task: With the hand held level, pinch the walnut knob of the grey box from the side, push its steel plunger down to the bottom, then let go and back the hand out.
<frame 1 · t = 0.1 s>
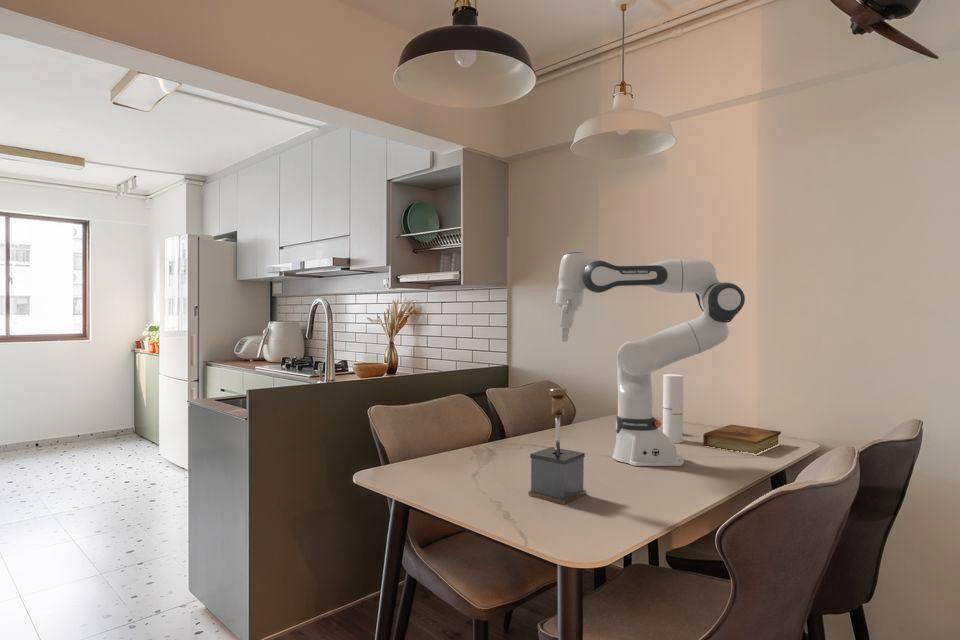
hand: (564, 340, 192), 39 cm above the table, tool pointing down, fingers open, 8 cm apart
plunger: (557, 424, 151), point 19 cm above the table, slide at 0.0 cm
diary: (742, 447, 208), on the table
grey box: (557, 494, 151), on the table
cylindrical container: (672, 441, 215), on the table
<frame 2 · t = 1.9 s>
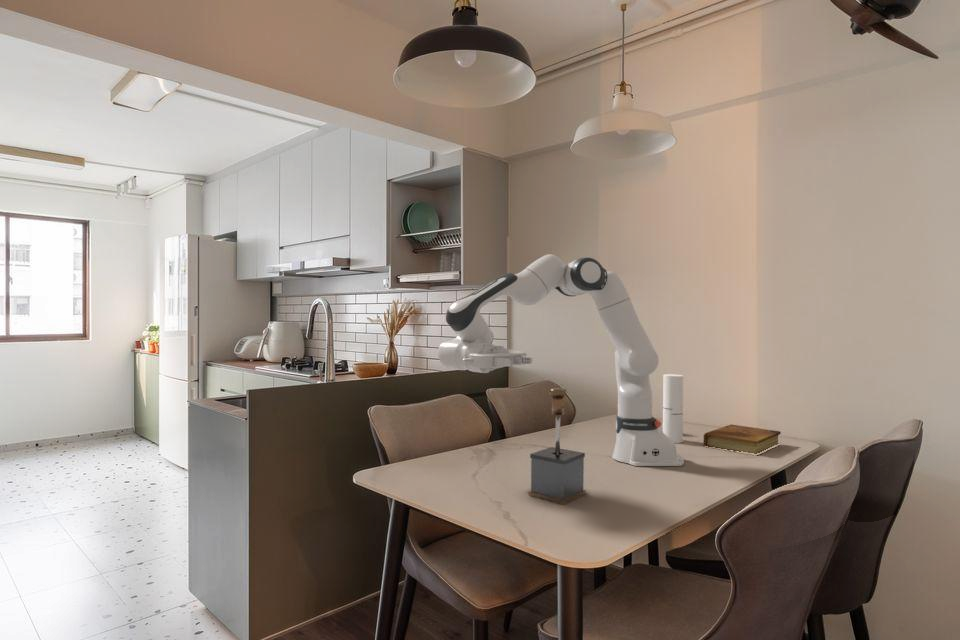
hand: (521, 361, 159), 35 cm above the table, tool horizontal, fingers open, 8 cm apart
nothing on the table moved.
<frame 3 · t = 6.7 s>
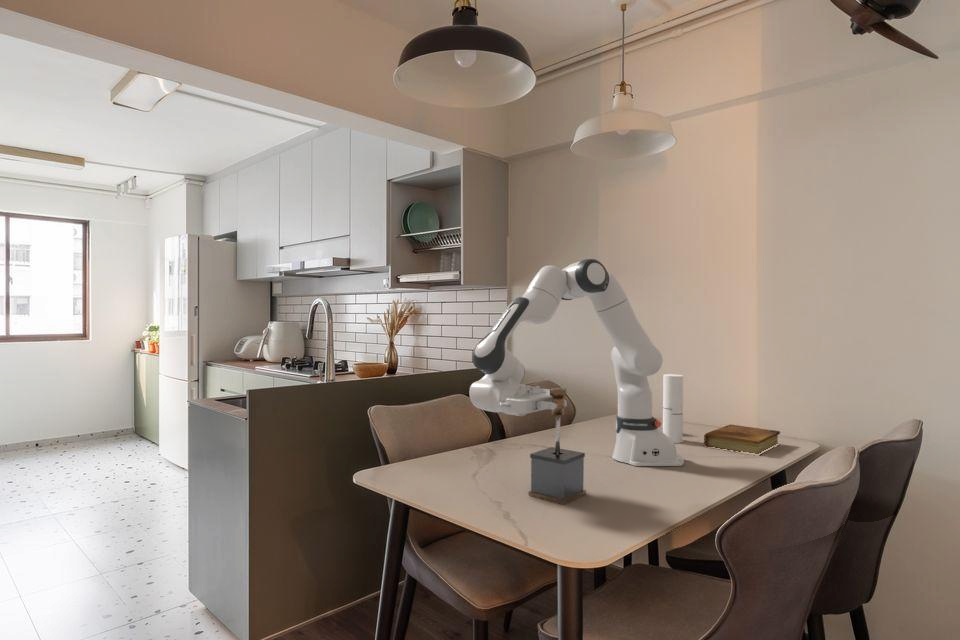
hand: (560, 405, 150), 24 cm above the table, tool horizontal, fingers closed on plunger, 3 cm apart
plunger: (557, 425, 151), point 19 cm above the table, slide at 0.0 cm, touching gripper
everything else where it was.
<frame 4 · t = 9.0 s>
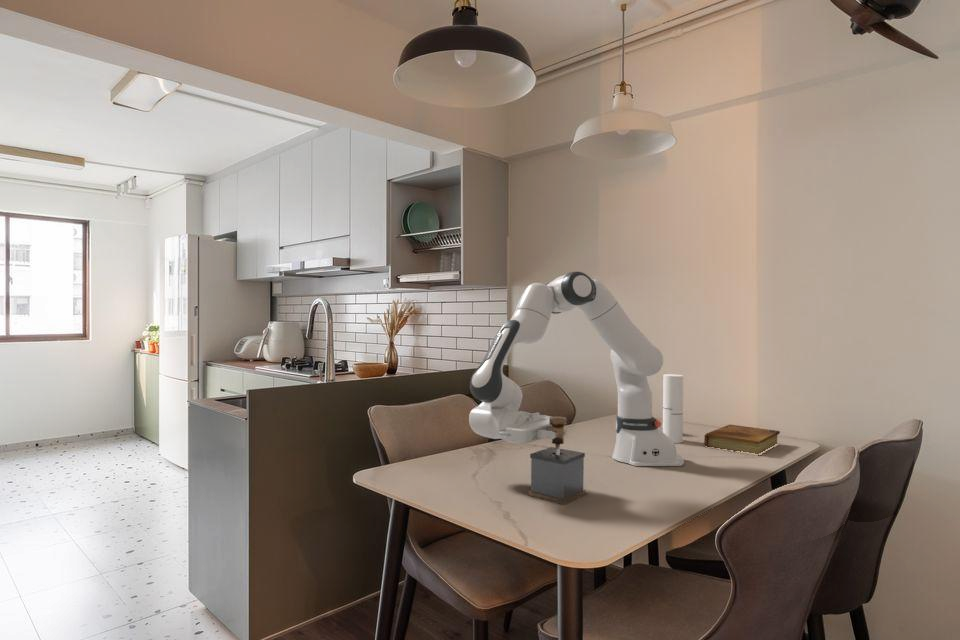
hand: (560, 433, 150), 16 cm above the table, tool horizontal, fingers closed on plunger, 3 cm apart
plunger: (557, 453, 151), point 11 cm above the table, slide at 7.6 cm, touching gripper
everything else where it was.
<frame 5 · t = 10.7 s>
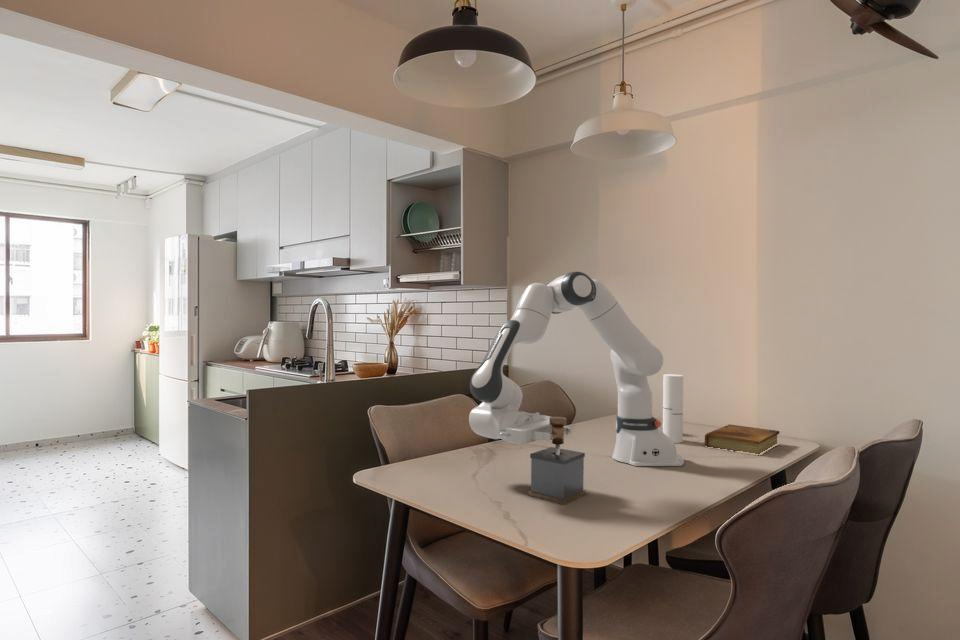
hand: (560, 434, 150), 16 cm above the table, tool horizontal, fingers open, 8 cm apart
plunger: (557, 453, 151), point 11 cm above the table, slide at 7.7 cm
everything else where it was.
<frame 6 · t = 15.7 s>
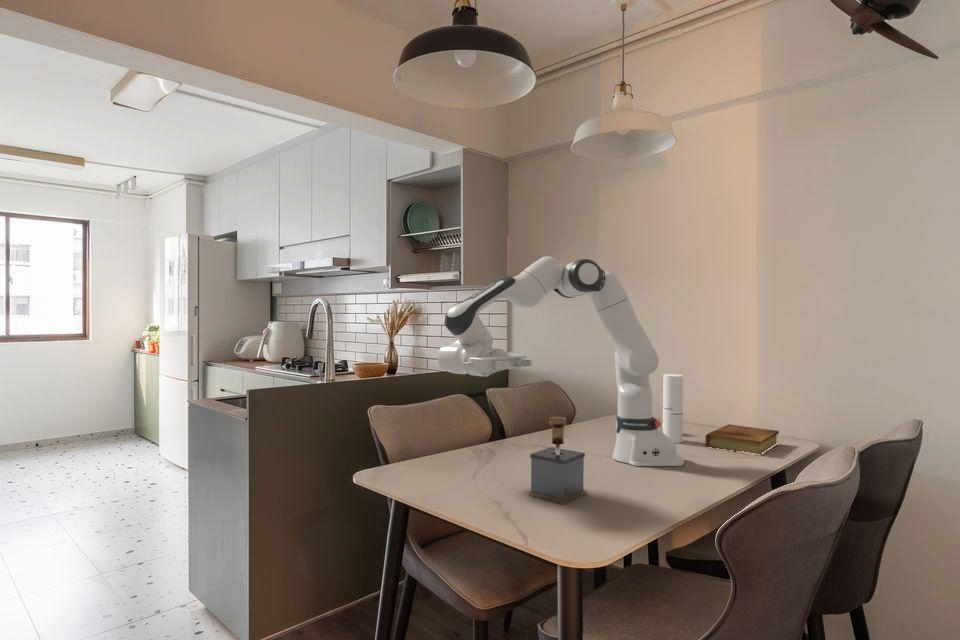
hand: (520, 364, 158), 34 cm above the table, tool horizontal, fingers open, 8 cm apart
nothing on the table moved.
at the end: plunger slide at 7.7 cm; the gripper is holding nothing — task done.
